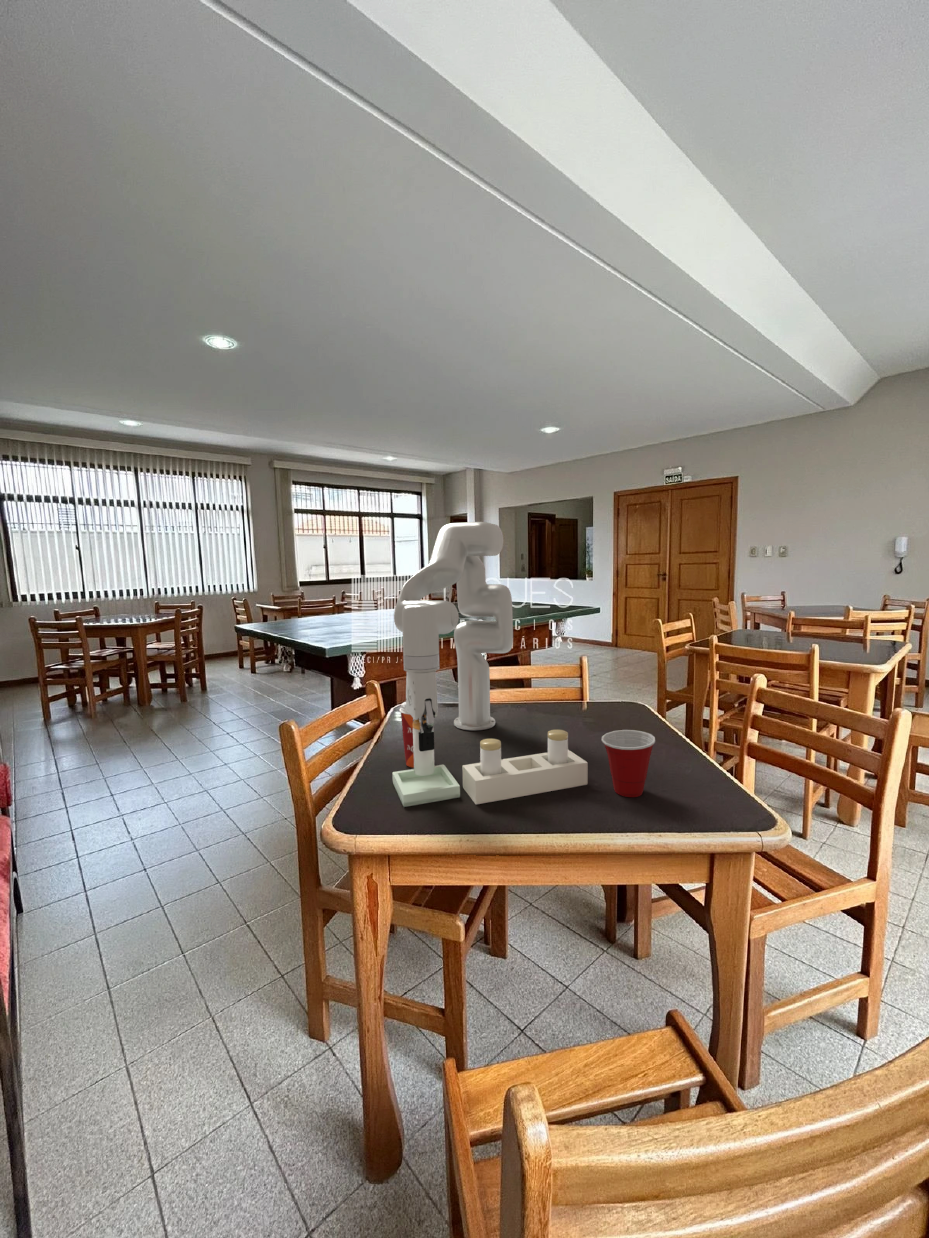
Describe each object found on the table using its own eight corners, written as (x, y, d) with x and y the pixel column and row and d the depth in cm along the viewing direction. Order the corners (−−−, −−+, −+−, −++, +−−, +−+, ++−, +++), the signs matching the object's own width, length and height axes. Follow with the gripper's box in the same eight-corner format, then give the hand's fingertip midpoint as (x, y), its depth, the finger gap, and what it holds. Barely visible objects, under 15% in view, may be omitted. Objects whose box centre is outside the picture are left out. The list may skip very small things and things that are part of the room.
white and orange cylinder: (412, 769, 110) (410, 720, 109) (431, 766, 111) (430, 717, 110) (416, 777, 106) (415, 726, 104) (436, 773, 107) (435, 723, 106)
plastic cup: (597, 779, 113) (598, 727, 111) (647, 781, 111) (648, 728, 110) (604, 802, 102) (605, 745, 101) (660, 804, 100) (661, 746, 99)
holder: (462, 787, 110) (462, 765, 109) (567, 769, 118) (567, 749, 117) (475, 804, 102) (475, 780, 101) (587, 784, 110) (587, 762, 110)
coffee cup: (410, 772, 118) (408, 710, 116) (395, 761, 125) (393, 702, 123) (441, 764, 122) (439, 704, 121) (425, 754, 129) (423, 697, 128)
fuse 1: (478, 789, 109) (477, 740, 108) (496, 785, 110) (496, 737, 109) (485, 797, 105) (484, 747, 103) (504, 794, 106) (504, 744, 105)
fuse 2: (544, 777, 114) (544, 730, 113) (561, 774, 115) (561, 728, 114) (553, 785, 110) (553, 737, 108) (571, 782, 111) (571, 734, 110)
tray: (392, 782, 113) (392, 772, 112) (444, 774, 117) (443, 764, 116) (403, 806, 101) (403, 795, 101) (460, 797, 105) (459, 785, 105)
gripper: (396, 657, 113) (398, 736, 115) (412, 671, 97) (415, 762, 99) (428, 654, 115) (430, 732, 117) (450, 668, 99) (452, 757, 101)
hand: (423, 745), depth 108 cm, fingers closed on white and orange cylinder, 4 cm apart
